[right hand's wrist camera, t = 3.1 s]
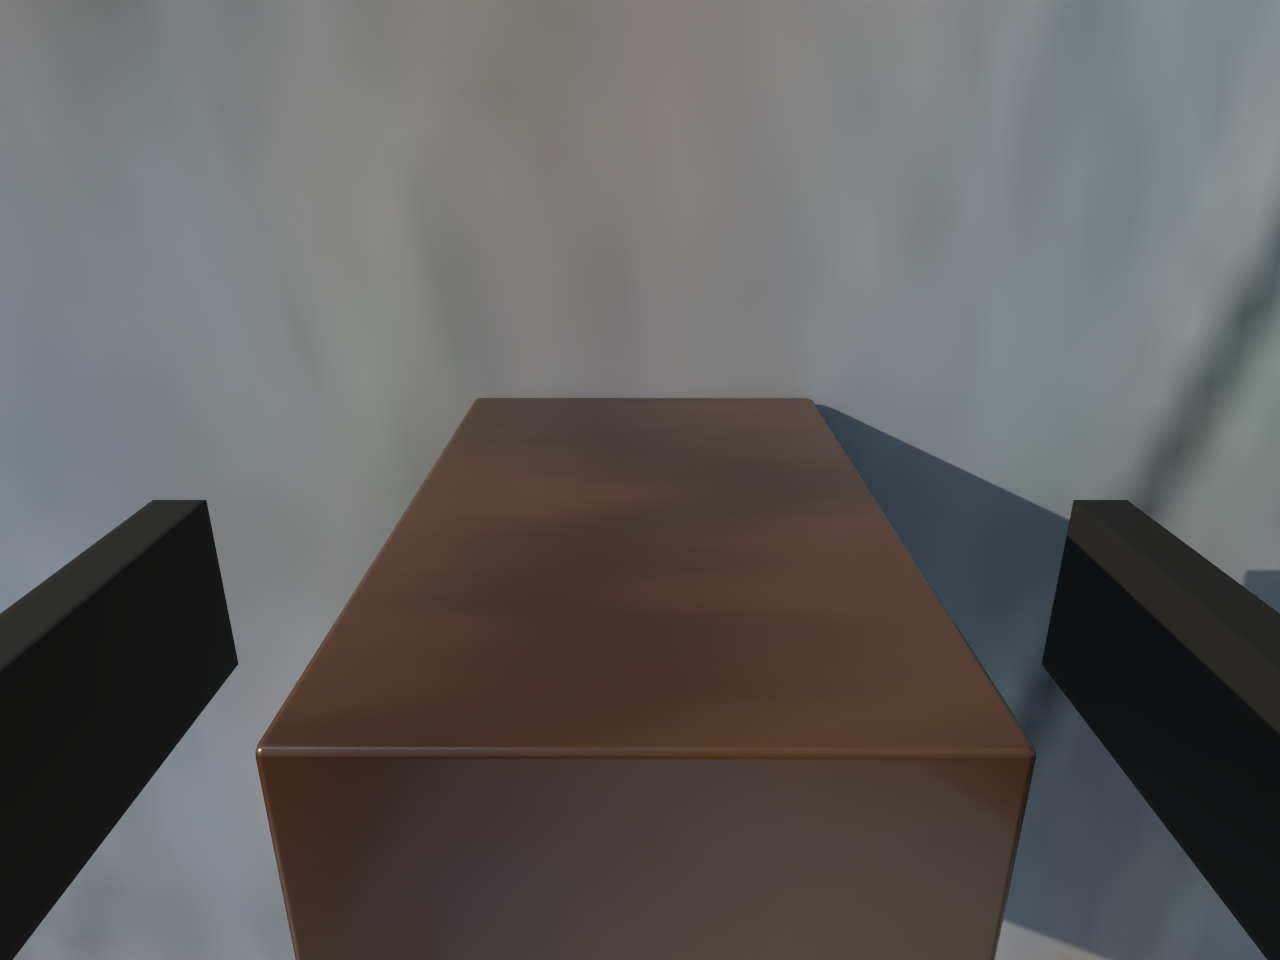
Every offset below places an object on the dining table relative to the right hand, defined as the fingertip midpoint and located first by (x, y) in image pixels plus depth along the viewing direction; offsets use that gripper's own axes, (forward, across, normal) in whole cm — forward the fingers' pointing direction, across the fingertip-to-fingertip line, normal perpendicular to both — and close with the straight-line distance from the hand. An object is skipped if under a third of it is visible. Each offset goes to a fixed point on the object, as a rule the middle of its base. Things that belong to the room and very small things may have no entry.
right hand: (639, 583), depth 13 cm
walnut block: (+1, 0, 0) cm, 1 cm away
